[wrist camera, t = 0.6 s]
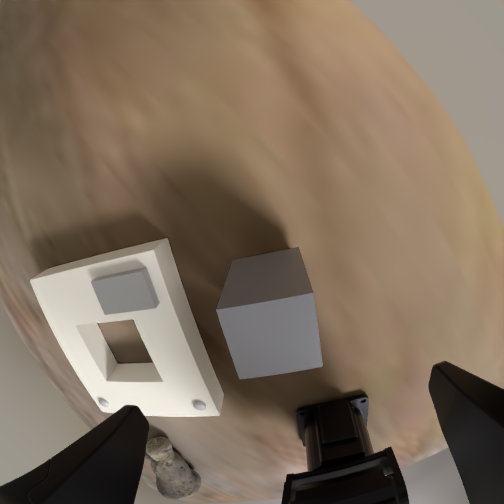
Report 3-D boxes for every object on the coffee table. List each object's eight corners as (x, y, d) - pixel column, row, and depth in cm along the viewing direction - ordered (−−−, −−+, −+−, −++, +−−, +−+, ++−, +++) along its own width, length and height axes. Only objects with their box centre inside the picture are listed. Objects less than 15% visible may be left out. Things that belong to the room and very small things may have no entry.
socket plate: (223, 394, 22) (218, 422, 19) (112, 395, 24) (99, 416, 21) (167, 237, 18) (149, 253, 15) (47, 268, 20) (24, 283, 17)
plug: (306, 298, 19) (323, 366, 12) (248, 309, 19) (239, 379, 13) (297, 242, 18) (313, 292, 11) (234, 254, 18) (215, 309, 12)
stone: (149, 423, 26) (113, 466, 23) (170, 450, 22) (130, 497, 19) (205, 448, 31) (172, 486, 28) (229, 470, 27) (193, 510, 23)
